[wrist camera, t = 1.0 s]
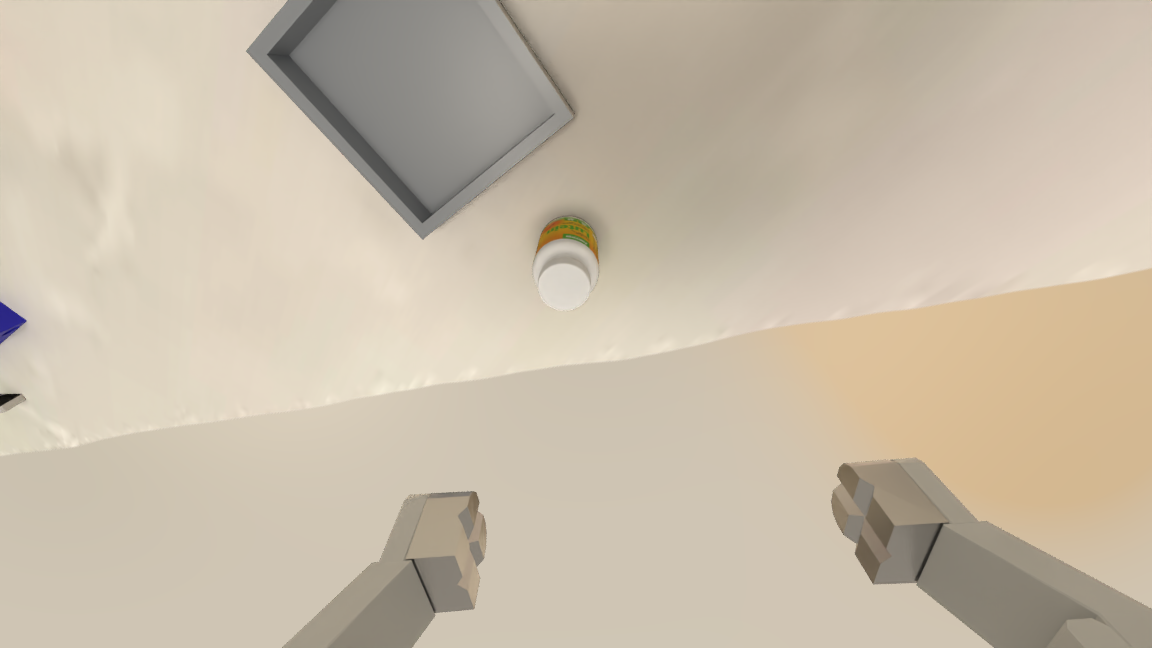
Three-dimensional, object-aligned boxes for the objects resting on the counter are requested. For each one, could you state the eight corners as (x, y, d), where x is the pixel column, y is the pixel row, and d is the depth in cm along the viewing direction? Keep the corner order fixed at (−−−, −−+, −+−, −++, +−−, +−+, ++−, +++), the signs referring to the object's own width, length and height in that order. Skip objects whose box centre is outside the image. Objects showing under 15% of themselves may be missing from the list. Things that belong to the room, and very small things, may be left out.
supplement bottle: (596, 213, 40) (600, 252, 32) (597, 269, 43) (600, 318, 34) (537, 215, 40) (524, 255, 32) (541, 270, 43) (531, 320, 35)
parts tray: (421, -117, 29) (402, -138, 26) (574, 113, 36) (573, 117, 33) (276, 52, 34) (245, 51, 31) (434, 226, 41) (422, 239, 38)
